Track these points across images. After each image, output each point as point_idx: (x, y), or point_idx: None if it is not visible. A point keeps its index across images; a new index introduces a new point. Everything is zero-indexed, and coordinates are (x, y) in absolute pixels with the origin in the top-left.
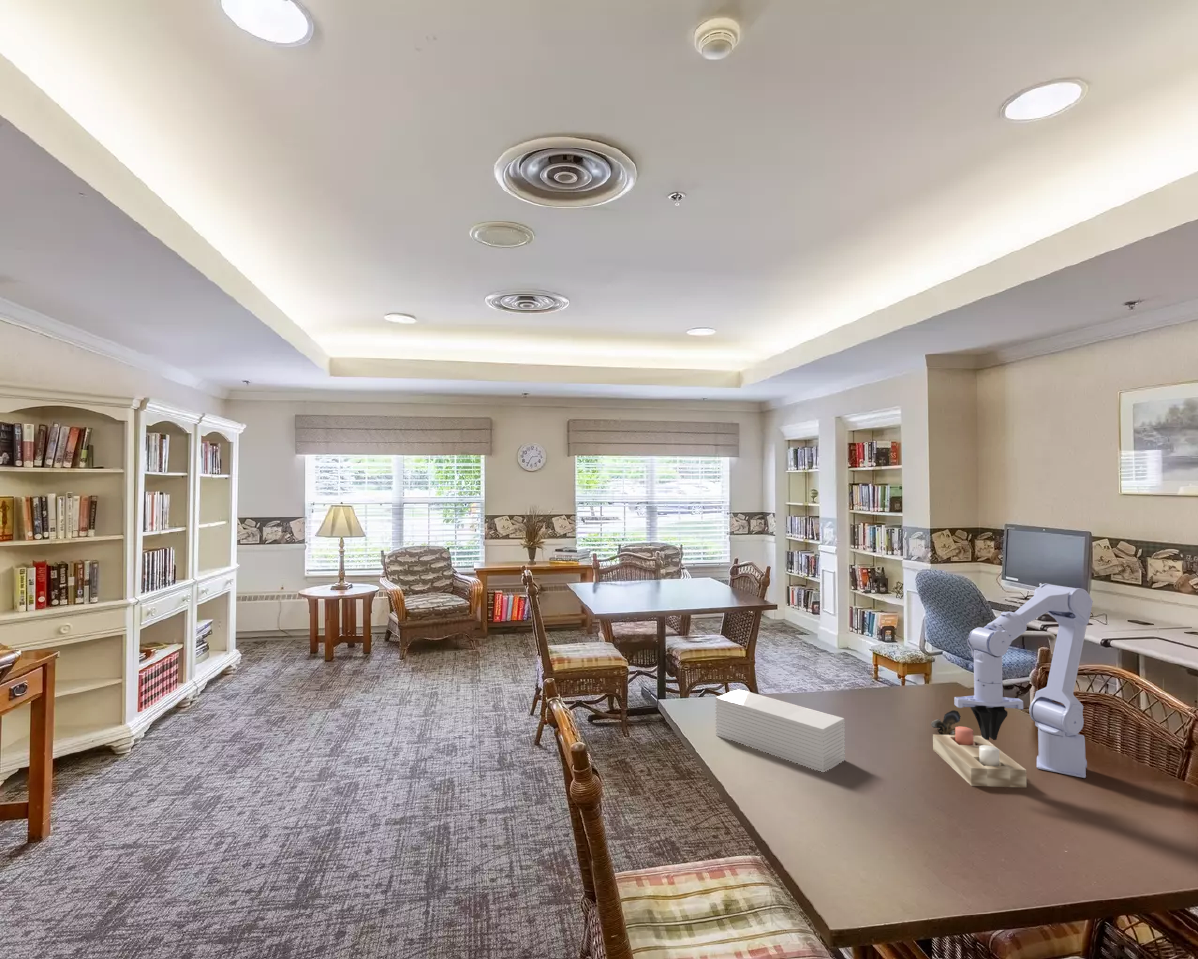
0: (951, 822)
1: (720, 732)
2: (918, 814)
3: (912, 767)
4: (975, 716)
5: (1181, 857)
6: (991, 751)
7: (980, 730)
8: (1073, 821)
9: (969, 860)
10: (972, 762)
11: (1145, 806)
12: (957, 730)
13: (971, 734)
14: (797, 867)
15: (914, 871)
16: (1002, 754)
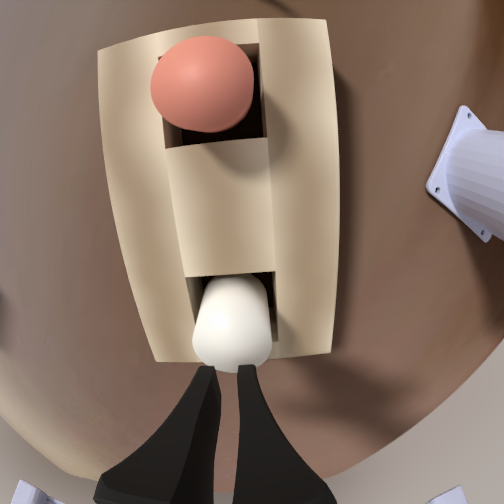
0: (118, 426)
1: None
2: (77, 407)
3: (45, 235)
4: (146, 446)
5: (384, 444)
6: (229, 368)
7: (189, 388)
8: (318, 418)
9: None
10: (169, 326)
11: (476, 339)
12: (154, 102)
13: (228, 123)
14: (26, 438)
15: (93, 462)
16: (324, 236)
